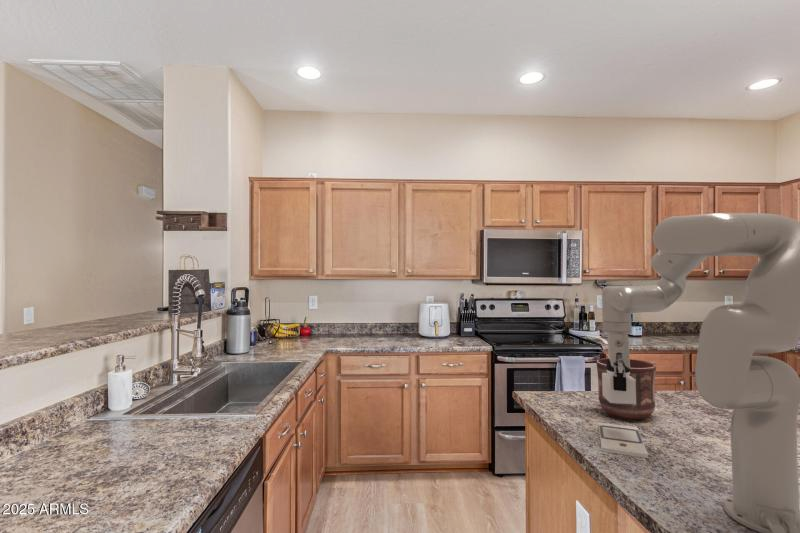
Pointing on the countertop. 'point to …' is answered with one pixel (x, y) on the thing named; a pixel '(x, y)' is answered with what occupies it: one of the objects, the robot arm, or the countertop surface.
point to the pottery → (644, 392)
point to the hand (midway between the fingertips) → (618, 386)
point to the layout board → (621, 440)
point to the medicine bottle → (615, 395)
